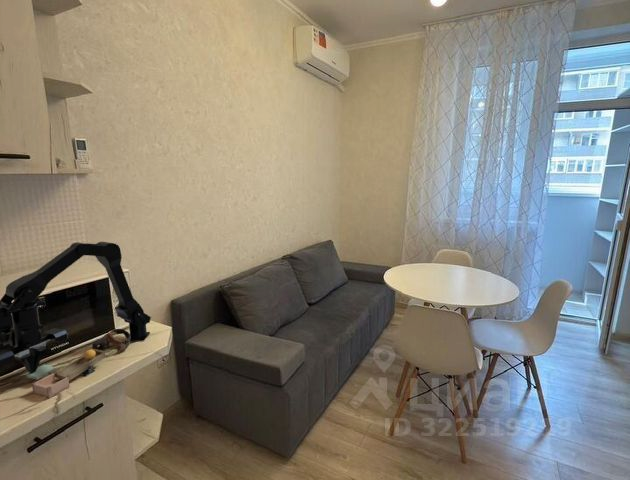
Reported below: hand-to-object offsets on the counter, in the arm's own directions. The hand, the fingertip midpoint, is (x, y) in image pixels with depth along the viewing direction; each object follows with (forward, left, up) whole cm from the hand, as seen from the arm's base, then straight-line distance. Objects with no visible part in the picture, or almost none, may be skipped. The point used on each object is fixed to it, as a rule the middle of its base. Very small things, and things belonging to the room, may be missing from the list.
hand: (32, 372), depth 96 cm
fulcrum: (-4, +12, -3) cm, 13 cm away
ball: (-6, +13, +2) cm, 14 cm away
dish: (+5, +8, -3) cm, 10 cm away
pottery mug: (-17, +14, -3) cm, 22 cm away
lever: (-3, +8, -1) cm, 9 cm away
